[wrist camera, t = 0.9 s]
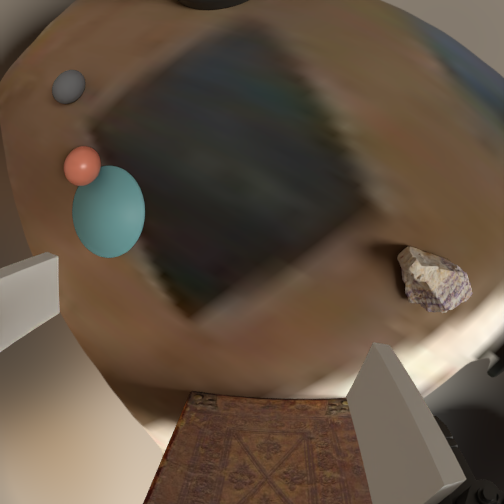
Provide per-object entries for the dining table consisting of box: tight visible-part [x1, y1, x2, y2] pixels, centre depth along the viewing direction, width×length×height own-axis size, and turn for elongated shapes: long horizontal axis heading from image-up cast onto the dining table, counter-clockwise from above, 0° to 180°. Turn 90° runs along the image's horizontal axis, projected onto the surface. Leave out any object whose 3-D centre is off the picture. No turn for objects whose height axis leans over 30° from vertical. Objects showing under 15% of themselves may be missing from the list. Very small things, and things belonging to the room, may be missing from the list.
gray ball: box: [52, 70, 85, 104], centre depth 30 cm, size 6×6×6 cm
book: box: [143, 391, 372, 504], centre depth 25 cm, size 25×9×30 cm, turn 89°
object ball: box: [64, 146, 101, 186], centre depth 32 cm, size 6×6×6 cm
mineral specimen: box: [397, 246, 472, 313], centre depth 31 cm, size 13×7×6 cm, turn 76°
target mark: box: [72, 166, 145, 258], centre depth 36 cm, size 13×13×1 cm
